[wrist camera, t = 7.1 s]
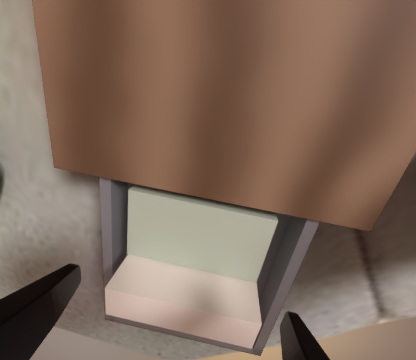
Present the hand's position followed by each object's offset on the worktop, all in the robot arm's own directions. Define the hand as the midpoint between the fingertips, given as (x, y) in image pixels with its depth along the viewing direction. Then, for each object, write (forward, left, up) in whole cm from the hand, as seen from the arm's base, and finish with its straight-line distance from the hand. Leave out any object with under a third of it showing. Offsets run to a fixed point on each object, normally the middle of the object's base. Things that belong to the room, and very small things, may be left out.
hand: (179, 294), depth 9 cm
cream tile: (0, +4, -5) cm, 7 cm away
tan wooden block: (0, -9, -9) cm, 13 cm away
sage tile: (0, +1, -8) cm, 8 cm away
